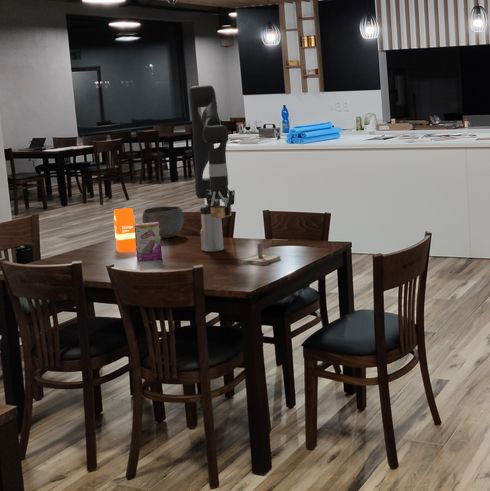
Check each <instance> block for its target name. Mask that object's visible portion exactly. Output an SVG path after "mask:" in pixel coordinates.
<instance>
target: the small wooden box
mask: <svg viewBox="0 0 490 491" xmlns="http://www.w3.org/2000/svg"><path fill="white" fill-rule="evenodd" d="M225 207H226V206H225V205H220V206H216V207H212V208H211V217H212V218H221V219H224V218H228V217H231V216H232V205H231V206H230V212H231V213H230V215H228V216H226V215H225Z"/></svg>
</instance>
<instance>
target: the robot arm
mask: <svg viewBox="0 0 490 491" xmlns="http://www.w3.org/2000/svg"><path fill="white" fill-rule="evenodd" d="M188 92H189V93H188V94H189V95H188V96H189V97H188V98H189V104H190V105H189V106H190V114H191V122H192V125H191V126H192V146H193V148H192V149H193V156H194V157H193V158H194V172H195V173H194V183H195V184H194V186H195V187H194V189H195V190H194V191H195V195H196V197H197V199H206V204H205V205H202V206H201V207H200V211H199V213H200V222H201V229H200V230H199V232H200V233H199V235H200V243H201V244H200V246H201V251H204V252H218V251H223V250H224V236H223V224H222V218H212V217H211V208H212V207H216V206H221V202H223V205H224V206H226V207H225V215H226V216H228V215H230V213H231V214H232V211H231V212H230V206H231V207H232V206H233V205H235V194H236V193H235V192H236V191H235V190H231V189H229V188H228V186H229V177H228V176H229V173H228V165H227V152H226V151H227V149H226V148H227V143H228V139H229V133H230V132H229V130H228V127H227V126H226V125H224V124H221V119H220V117H219V113H218V103H217V97H216V92H215V88H214V87H213V86H212V85H210V84H209V85H207V84H206V85H205V84H204V85H194V86H191V87H190V88H189V91H188ZM199 108H204V109H203V112H202V115H201V114H200V112H199ZM215 144H219V145H218V146H217V147H215ZM207 165H208V173H209V174H208V175H209V177H203V174H204V171H205V170H206V167H207ZM228 217H229V216H228Z"/></svg>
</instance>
